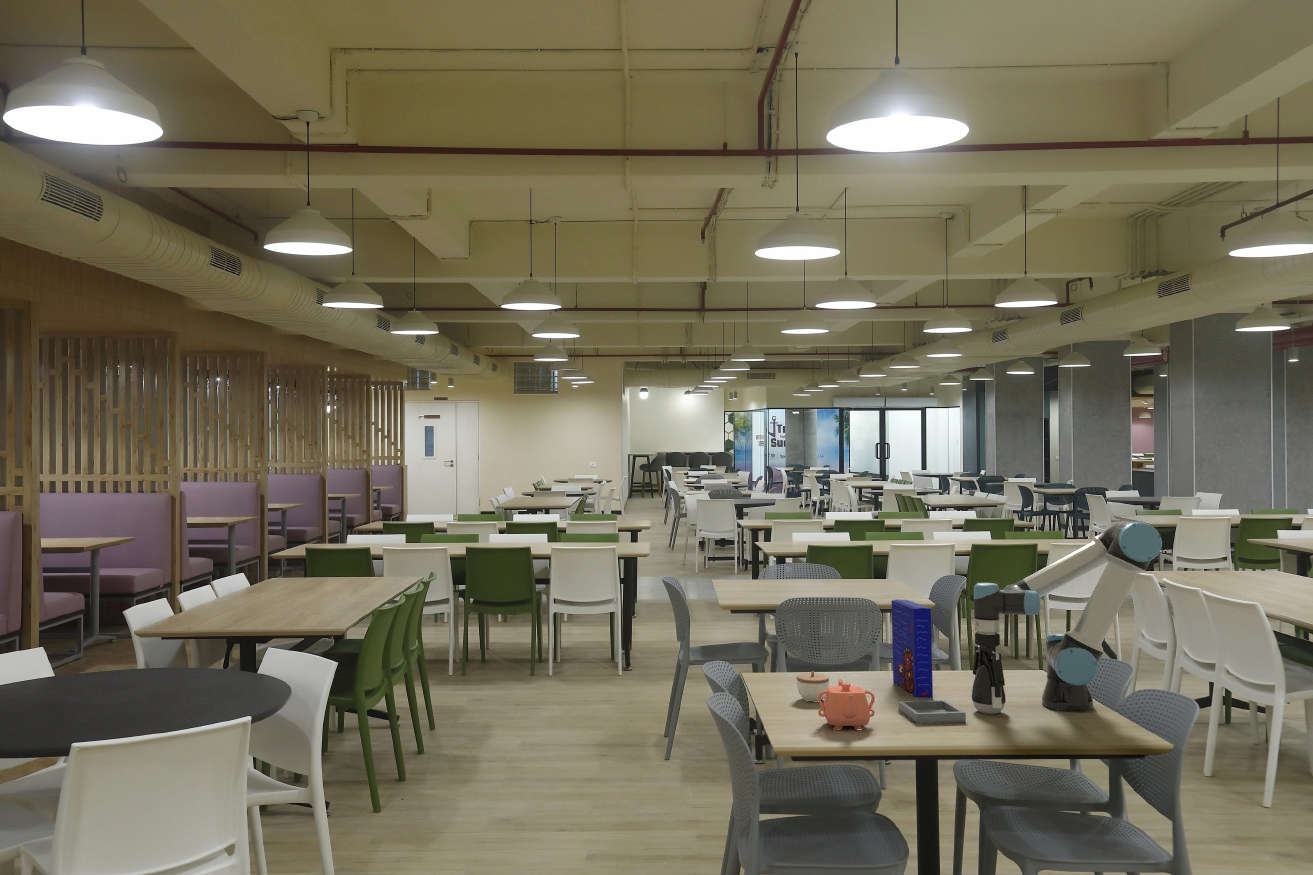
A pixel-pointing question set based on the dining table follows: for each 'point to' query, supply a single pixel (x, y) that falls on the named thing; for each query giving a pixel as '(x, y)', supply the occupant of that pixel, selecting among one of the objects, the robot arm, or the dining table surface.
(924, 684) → the cereal box
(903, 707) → the tray
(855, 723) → the teapot
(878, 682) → the dining table surface
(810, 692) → the lidded jar
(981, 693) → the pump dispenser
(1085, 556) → the robot arm
